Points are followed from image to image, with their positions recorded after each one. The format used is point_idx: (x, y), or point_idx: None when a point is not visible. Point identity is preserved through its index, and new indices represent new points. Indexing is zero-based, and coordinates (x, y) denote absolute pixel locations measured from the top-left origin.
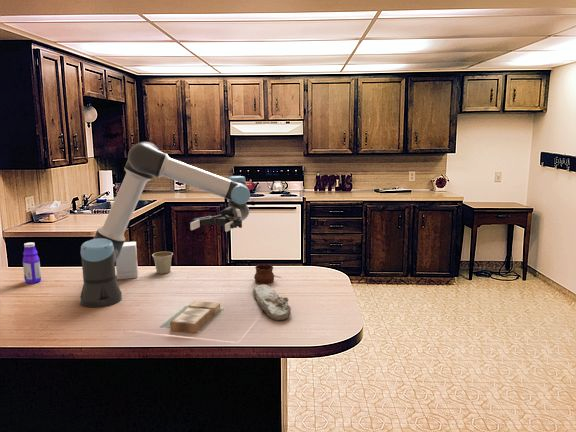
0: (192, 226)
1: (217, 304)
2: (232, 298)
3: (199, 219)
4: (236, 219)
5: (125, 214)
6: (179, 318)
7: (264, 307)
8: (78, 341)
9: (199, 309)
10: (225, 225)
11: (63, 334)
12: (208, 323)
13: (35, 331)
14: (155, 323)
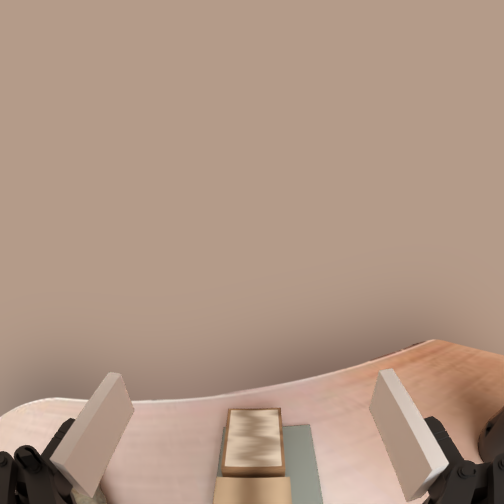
0: (374, 392)
1: (216, 495)
2: None
3: (456, 490)
4: (17, 449)
5: None
6: (270, 420)
7: (101, 497)
8: (384, 367)
9: (249, 461)
10: (119, 378)
11: (419, 369)
12: (220, 453)
13: (453, 360)
14: (331, 437)
